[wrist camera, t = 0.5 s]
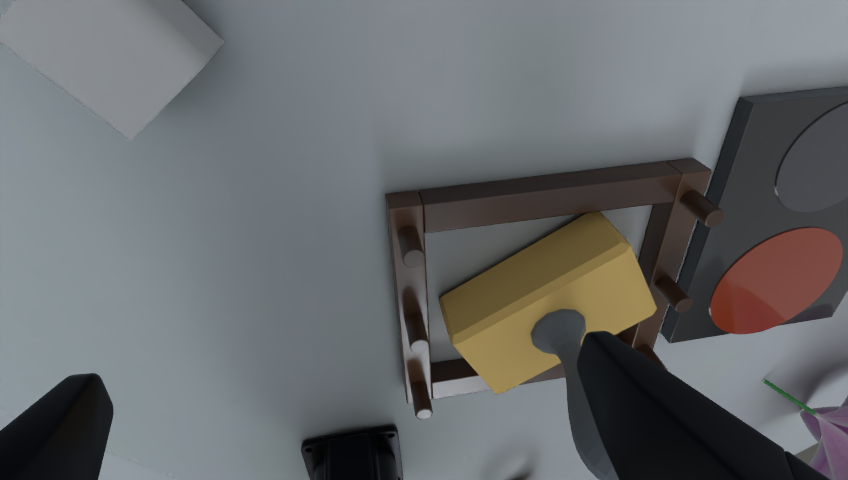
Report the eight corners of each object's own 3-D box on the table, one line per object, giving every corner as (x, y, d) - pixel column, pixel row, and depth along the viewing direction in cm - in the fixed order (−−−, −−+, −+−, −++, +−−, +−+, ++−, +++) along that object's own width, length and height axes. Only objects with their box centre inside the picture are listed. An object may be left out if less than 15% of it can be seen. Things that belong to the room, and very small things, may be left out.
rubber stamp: (481, 350, 30) (555, 559, 20) (435, 295, 27) (497, 511, 17) (625, 272, 29) (781, 459, 19) (594, 204, 25) (764, 385, 16)
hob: (818, 309, 34) (831, 320, 33) (659, 334, 32) (669, 346, 32) (952, 75, 25) (975, 81, 24) (739, 97, 23) (755, 104, 22)
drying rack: (636, 346, 33) (666, 388, 30) (403, 384, 31) (411, 432, 28) (693, 157, 25) (741, 189, 22) (385, 193, 23) (393, 233, 20)
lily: (719, 437, 44) (840, 527, 38) (720, 437, 34) (881, 557, 29) (803, 332, 43) (938, 408, 37) (827, 303, 34) (1012, 398, 28)
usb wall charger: (159, 107, 19) (125, 147, 16) (-34, -51, 15) (-131, -42, 12) (227, 38, 18) (205, 65, 15) (38, -148, 15) (-46, -166, 11)
